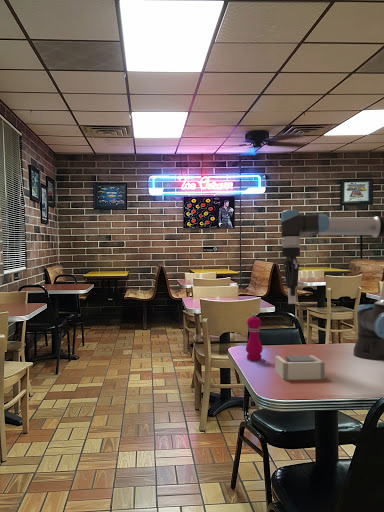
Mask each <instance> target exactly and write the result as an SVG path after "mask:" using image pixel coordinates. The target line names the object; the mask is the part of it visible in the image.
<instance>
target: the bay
mask: <svg viewBox="0 0 384 512" xmlns="http://www.w3.org/2000/svg"><path fill="white" fill-rule="evenodd" d="M308 357H310V358H311V359H313V360H314V362H286V359H284V358H283V357H282V356H280V355H275V357H274V363H275V364H274V367H275V368H274V369H275V371H274V372H275V373H276V374H277V375H278V376H279V377H280V378H281V379H283V381H298V380H300V381H301V380H305V381H307V380H325V378H326V376H325V375H326V373H325V372H326V371H325V365H326V364H325V362H324V361H323V360H321V359H320V358H318V357H316V356H315V355H314V354H312V355H311V354H310V355H309V356H308Z"/></svg>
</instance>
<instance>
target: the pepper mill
mask: <svg viewBox="0 0 384 512" xmlns="http://www.w3.org/2000/svg"><path fill="white" fill-rule="evenodd" d="M246 322H247V323H246V324H247V326H248V333H249V337H248V341H247V343H246V345H245V352H246V353H247V354H246V359H247V360H248V361H254V362H257V361H261V360H262V352H263V345H262V342H261V339H260V336H259V335H260V332H261V330H260V329H261V328H260V327H261V325H262V320H261V318H259V317H258V316H257V313H255V312H253V313H252V314H251V316H250V317H249V318H248V319H247V321H246Z"/></svg>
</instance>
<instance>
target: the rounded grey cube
mask: <svg viewBox="0 0 384 512" xmlns="http://www.w3.org/2000/svg"><path fill="white" fill-rule="evenodd" d="M284 358H285V361H286V362H314V360H313V359H311V358H310V357H309V356H308V355H287V356H286V355H285V357H284Z"/></svg>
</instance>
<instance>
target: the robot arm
mask: <svg viewBox="0 0 384 512" xmlns="http://www.w3.org/2000/svg"><path fill="white" fill-rule="evenodd" d="M280 213H281V216H280V229H281V230H280V231H281V239H280V242H281V247H282V248H281V257H285V262H284V263H283V269H284V280H285V286H286V287H287V298H288V299H287V300H288V305H293V304H294V305H295V304H297V296H296V294H297V293H296V289H297V287H298V283H299V272H300V271H299V270H300V263H298V261H297V260H298V259H297V257H300V256H301V248H300V246H301V235H303V236H307V235H330V236H331V235H333V236H334V235H335V236H336V235H337V236H339V235H341V236H342V235H343V236H372V237H373V238H380V239H381V238H382V239H384V215H378V216H376V215H374V216H373V217H372V218H370V217H369V218H367V217H366V218H365V217H364V218H363V217H361V218H360V217H358V218H357V217H352V218H351V217H328V215H327V214H320V213H319V214H301V213H300V211H299V209H286V210H283V211H281V212H280ZM356 314H357V315H356V317H357V319H356V320H357V321H356V322H357V323H356V324H357V339H356V342H355V344H354V346H353V355H354V356H355V357H357V358H361V359H367V360H368V359H369V360H384V281H383V283H382V288H381V291H380V296H379V299H378V300H377V301H375V302H374V303H373V304H359V305H358V306H357V311H356Z"/></svg>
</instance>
